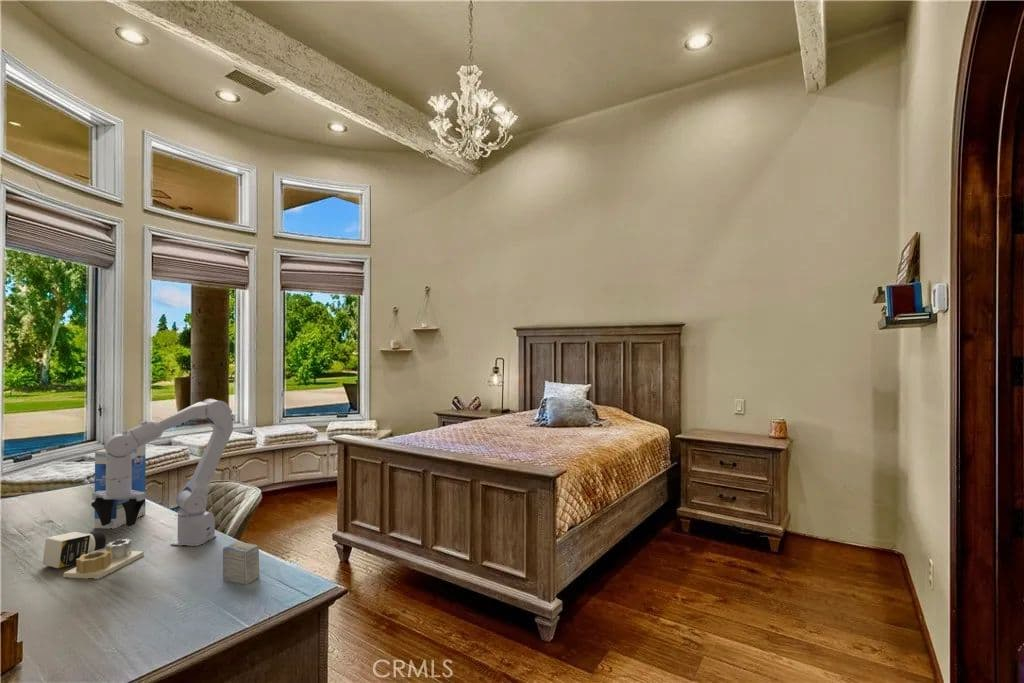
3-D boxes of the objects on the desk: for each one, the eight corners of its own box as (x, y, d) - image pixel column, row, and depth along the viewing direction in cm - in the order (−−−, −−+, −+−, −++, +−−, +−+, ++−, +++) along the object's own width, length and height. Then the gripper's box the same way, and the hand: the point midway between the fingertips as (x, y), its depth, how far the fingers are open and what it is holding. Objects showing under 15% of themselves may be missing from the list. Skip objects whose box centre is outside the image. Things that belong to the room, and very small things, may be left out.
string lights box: (126, 514, 174) (126, 442, 174) (147, 515, 173) (147, 443, 173) (93, 528, 160) (93, 451, 160) (115, 529, 160) (115, 451, 160)
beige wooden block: (259, 577, 127) (259, 544, 127) (245, 585, 123) (245, 551, 123) (237, 573, 130) (237, 540, 130) (222, 580, 125) (222, 547, 125)
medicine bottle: (61, 541, 131) (110, 530, 142) (45, 537, 133) (95, 527, 145) (57, 568, 130) (107, 555, 141) (41, 564, 133) (92, 552, 144)
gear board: (143, 555, 140) (144, 536, 140) (98, 578, 126) (99, 557, 126) (111, 554, 141) (112, 535, 141) (63, 577, 127) (63, 556, 127)
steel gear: (136, 551, 140) (136, 538, 140) (120, 559, 135) (120, 546, 135) (117, 551, 140) (117, 538, 140) (101, 559, 135) (101, 546, 135)
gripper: (81, 480, 134) (81, 529, 134) (130, 481, 133) (130, 531, 133) (105, 473, 141) (104, 520, 141) (151, 474, 140) (151, 521, 140)
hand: (118, 524), depth 137 cm, fingers open, 7 cm apart
